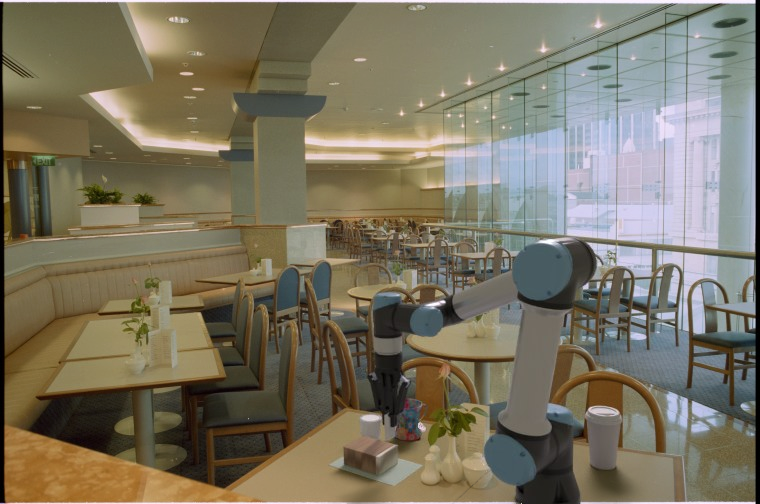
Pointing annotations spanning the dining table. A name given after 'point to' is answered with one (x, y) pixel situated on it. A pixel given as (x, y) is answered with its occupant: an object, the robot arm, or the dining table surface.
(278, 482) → the dining table surface
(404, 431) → the mug
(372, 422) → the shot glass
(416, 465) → the rubber mat
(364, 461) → the walnut block
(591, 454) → the coffee cup
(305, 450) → the dining table surface
